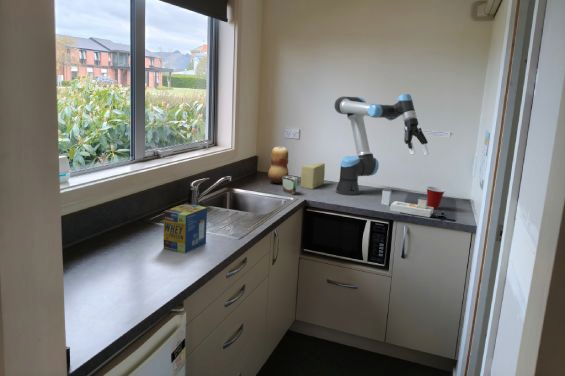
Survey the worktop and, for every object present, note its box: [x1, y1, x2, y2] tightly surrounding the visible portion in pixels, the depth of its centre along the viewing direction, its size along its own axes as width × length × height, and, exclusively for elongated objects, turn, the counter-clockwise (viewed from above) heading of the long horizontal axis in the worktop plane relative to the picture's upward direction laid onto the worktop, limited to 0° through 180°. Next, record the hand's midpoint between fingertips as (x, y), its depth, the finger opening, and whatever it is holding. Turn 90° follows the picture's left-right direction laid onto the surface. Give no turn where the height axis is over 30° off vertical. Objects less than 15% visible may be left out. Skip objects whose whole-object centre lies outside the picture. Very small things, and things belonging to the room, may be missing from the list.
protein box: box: [163, 203, 208, 254], centre depth 188 cm, size 10×15×16 cm
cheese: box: [300, 162, 326, 190], centre depth 318 cm, size 22×10×15 cm, turn 145°
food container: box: [282, 175, 299, 196], centre depth 293 cm, size 12×6×10 cm, turn 37°
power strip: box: [389, 200, 447, 219], centre depth 263 cm, size 30×10×4 cm, turn 63°
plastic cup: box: [425, 186, 446, 210], centre depth 276 cm, size 11×11×12 cm
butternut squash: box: [267, 146, 289, 184], centre depth 318 cm, size 14×13×25 cm
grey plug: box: [380, 188, 392, 206], centre depth 279 cm, size 4×4×9 cm
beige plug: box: [417, 196, 428, 209], centre depth 262 cm, size 4×4×9 cm
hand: (419, 154), depth 267 cm, fingers open, 13 cm apart
